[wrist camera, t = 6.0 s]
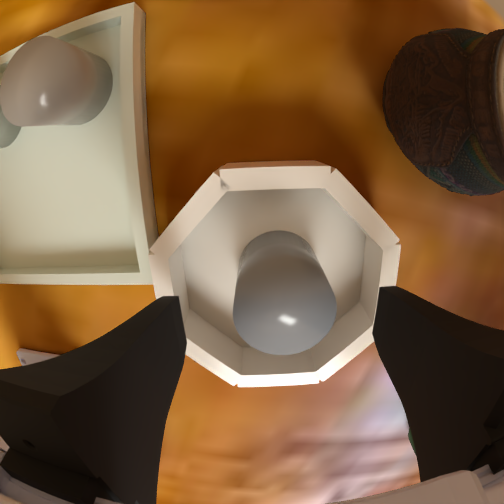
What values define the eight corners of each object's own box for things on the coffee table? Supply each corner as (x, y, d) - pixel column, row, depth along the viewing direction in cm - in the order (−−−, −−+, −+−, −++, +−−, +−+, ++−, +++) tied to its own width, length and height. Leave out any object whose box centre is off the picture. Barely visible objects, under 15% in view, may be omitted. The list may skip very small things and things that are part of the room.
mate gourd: (484, 70, 11) (625, 64, 2) (472, 198, 14) (611, 272, 4) (371, 25, 11) (503, -67, 2) (358, 174, 14) (510, 253, 4)
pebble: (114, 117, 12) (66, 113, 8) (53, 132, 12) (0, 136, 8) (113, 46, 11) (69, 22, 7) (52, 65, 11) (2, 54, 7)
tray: (163, 270, 15) (154, 284, 14) (3, 273, 16) (-11, 283, 14) (145, 13, 11) (134, 1, 9) (-20, 79, 11) (-36, 79, 10)
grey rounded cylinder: (317, 299, 15) (334, 349, 11) (242, 305, 15) (239, 358, 11) (315, 227, 14) (337, 261, 10) (234, 234, 14) (225, 271, 10)
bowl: (361, 342, 17) (377, 376, 14) (187, 350, 17) (176, 386, 14) (378, 161, 13) (406, 168, 10) (160, 168, 14) (137, 176, 11)
